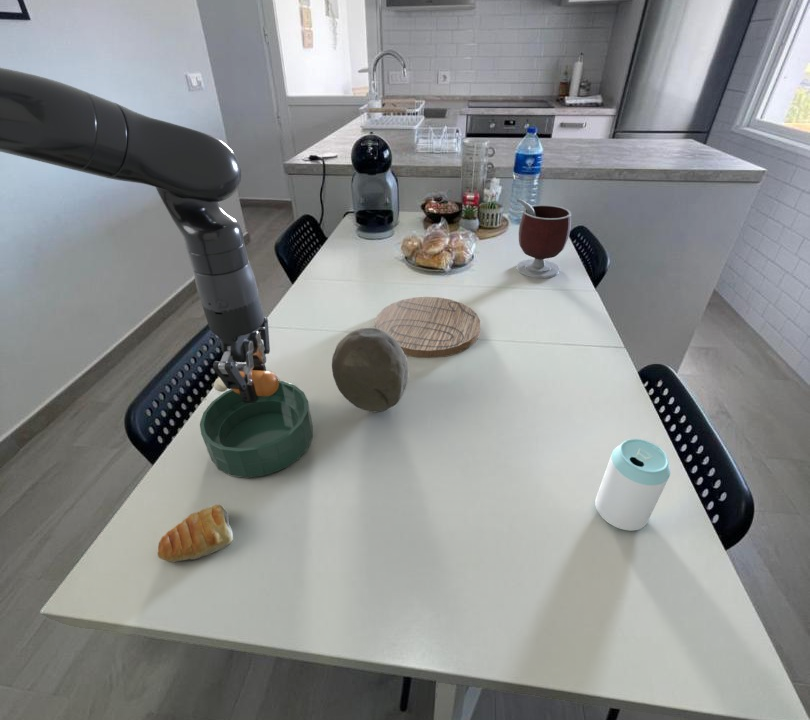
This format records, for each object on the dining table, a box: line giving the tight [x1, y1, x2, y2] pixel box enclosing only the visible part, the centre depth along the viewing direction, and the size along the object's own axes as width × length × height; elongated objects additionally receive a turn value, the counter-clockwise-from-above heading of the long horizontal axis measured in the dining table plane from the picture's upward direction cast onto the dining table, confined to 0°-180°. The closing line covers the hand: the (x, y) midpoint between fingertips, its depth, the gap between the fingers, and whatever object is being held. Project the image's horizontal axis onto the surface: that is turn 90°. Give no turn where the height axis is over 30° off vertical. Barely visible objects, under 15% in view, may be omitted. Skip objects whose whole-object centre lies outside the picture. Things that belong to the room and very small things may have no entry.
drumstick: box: [213, 370, 280, 397], centre depth 70 cm, size 11×4×4 cm, turn 83°
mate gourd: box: [516, 198, 572, 279], centre depth 128 cm, size 16×14×20 cm
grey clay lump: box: [331, 327, 409, 413], centre depth 81 cm, size 14×14×15 cm
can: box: [594, 438, 671, 532], centre depth 61 cm, size 7×7×12 cm
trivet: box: [374, 296, 481, 359], centre depth 106 cm, size 25×25×2 cm
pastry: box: [157, 504, 234, 563], centre depth 61 cm, size 9×7×4 cm
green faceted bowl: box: [199, 380, 314, 479], centre depth 76 cm, size 17×17×6 cm
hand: (256, 391), depth 71 cm, fingers closed on drumstick, 4 cm apart
